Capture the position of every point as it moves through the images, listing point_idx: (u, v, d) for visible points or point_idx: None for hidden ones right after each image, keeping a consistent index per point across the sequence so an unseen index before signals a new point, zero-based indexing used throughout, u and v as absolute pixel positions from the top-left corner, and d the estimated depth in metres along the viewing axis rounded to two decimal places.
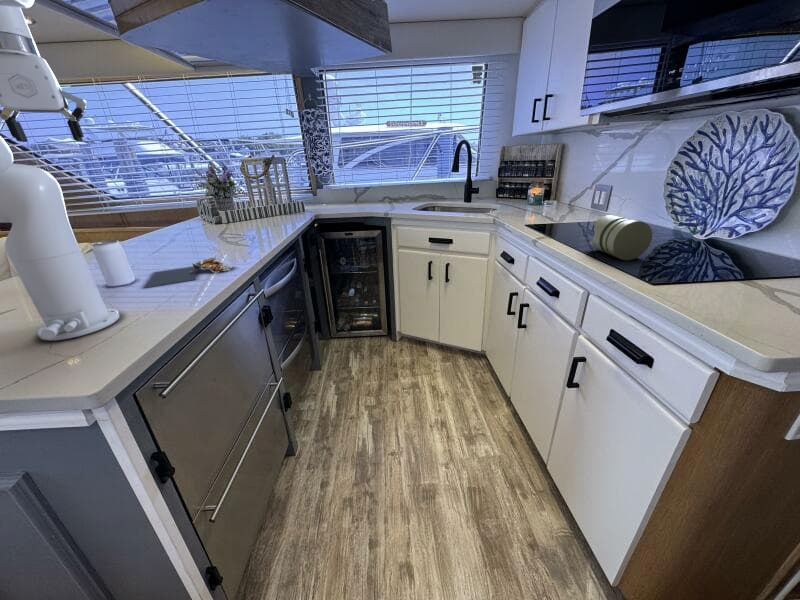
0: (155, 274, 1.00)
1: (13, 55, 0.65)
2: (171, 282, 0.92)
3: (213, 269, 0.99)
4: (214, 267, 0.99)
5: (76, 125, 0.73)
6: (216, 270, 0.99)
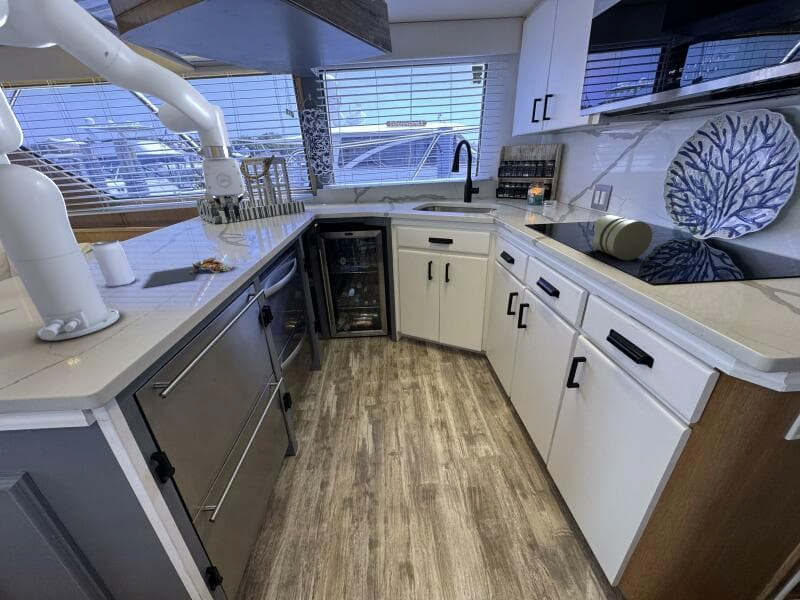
0: (155, 274, 1.00)
1: (221, 160, 0.91)
2: (171, 282, 0.92)
3: (213, 269, 0.99)
4: (214, 267, 0.99)
5: (237, 208, 0.99)
6: (216, 270, 0.99)
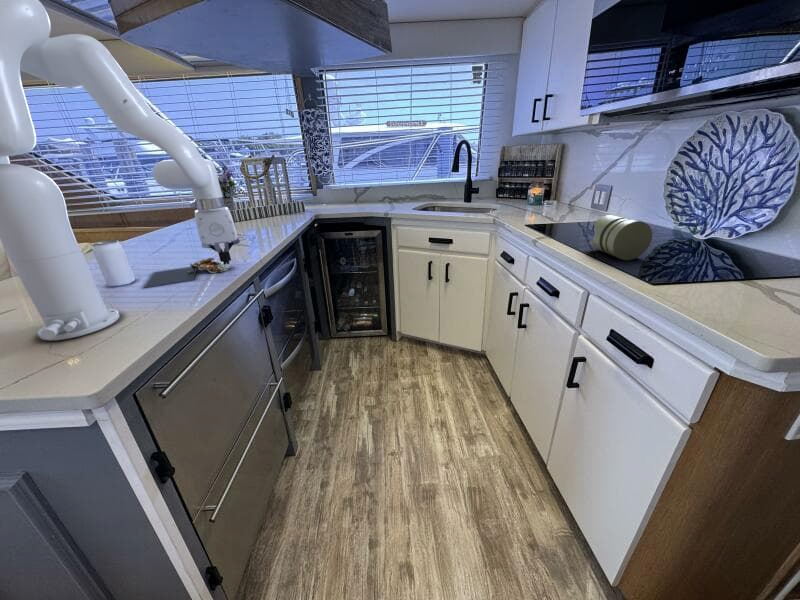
0: (155, 274, 1.00)
1: (213, 211, 0.95)
2: (171, 282, 0.92)
3: (210, 269, 0.99)
4: (211, 267, 0.99)
5: (228, 253, 1.02)
6: (213, 270, 0.99)
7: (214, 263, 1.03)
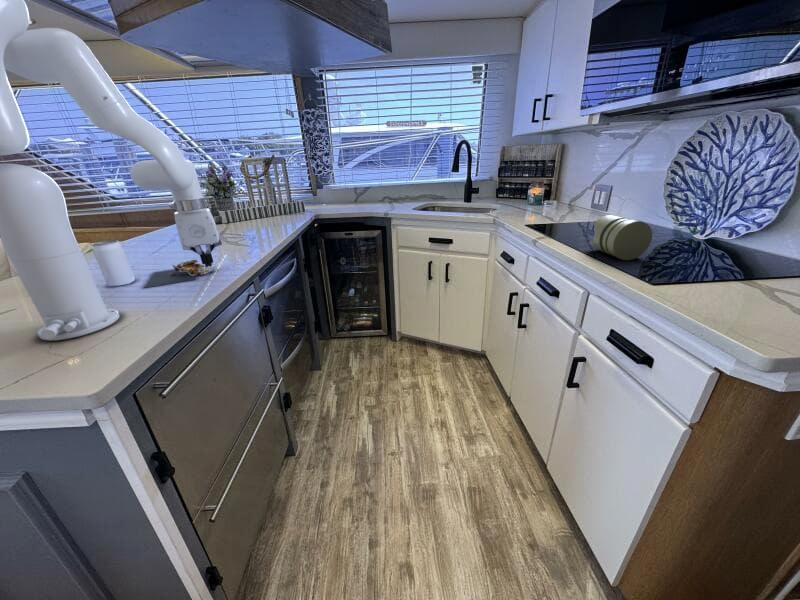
0: (155, 274, 1.00)
1: (193, 212, 0.93)
2: (171, 282, 0.92)
3: (191, 272, 0.97)
4: (192, 270, 0.97)
5: (210, 256, 1.00)
6: (194, 273, 0.97)
7: (197, 265, 1.01)
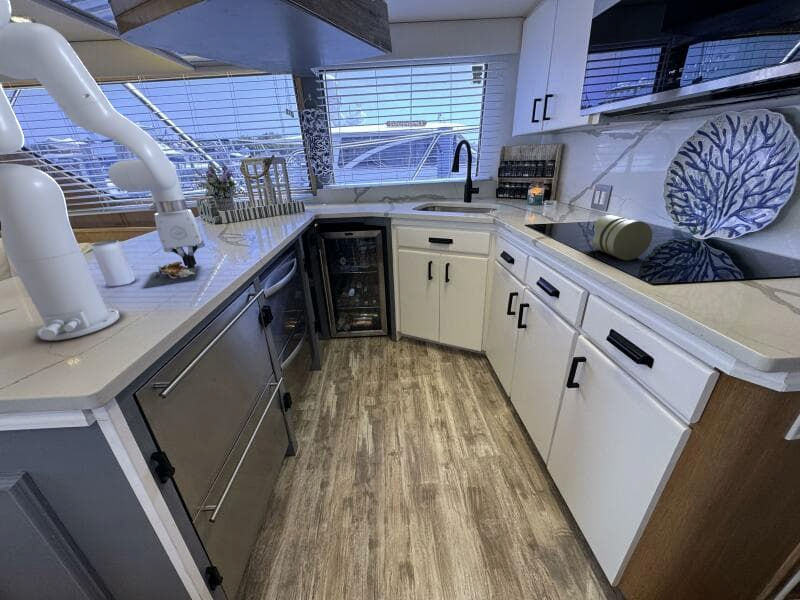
0: None
1: (174, 213, 0.91)
2: (171, 282, 0.92)
3: (172, 274, 0.96)
4: (173, 272, 0.96)
5: (193, 257, 0.98)
6: (174, 276, 0.96)
7: (182, 267, 0.99)
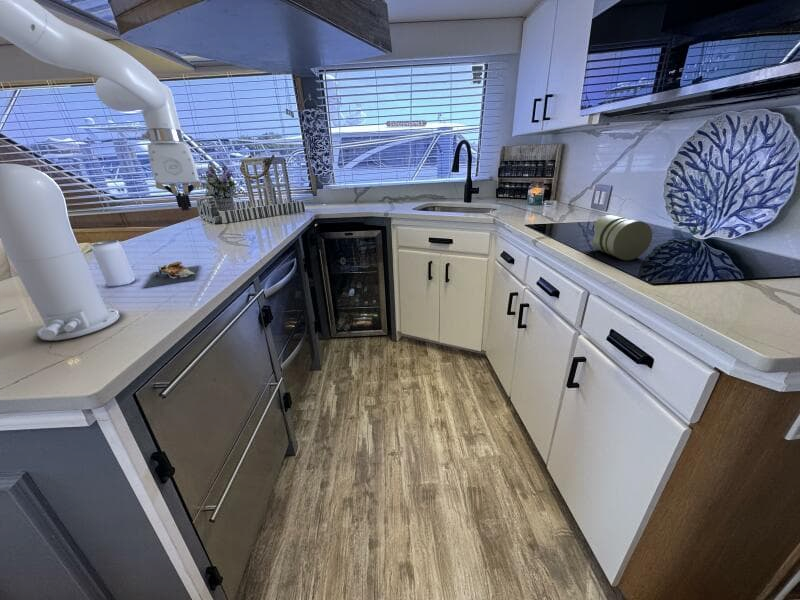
0: None
1: (169, 144, 0.83)
2: (171, 282, 0.92)
3: (172, 274, 0.96)
4: (173, 272, 0.96)
5: (188, 198, 0.90)
6: (174, 276, 0.96)
7: (181, 267, 0.99)
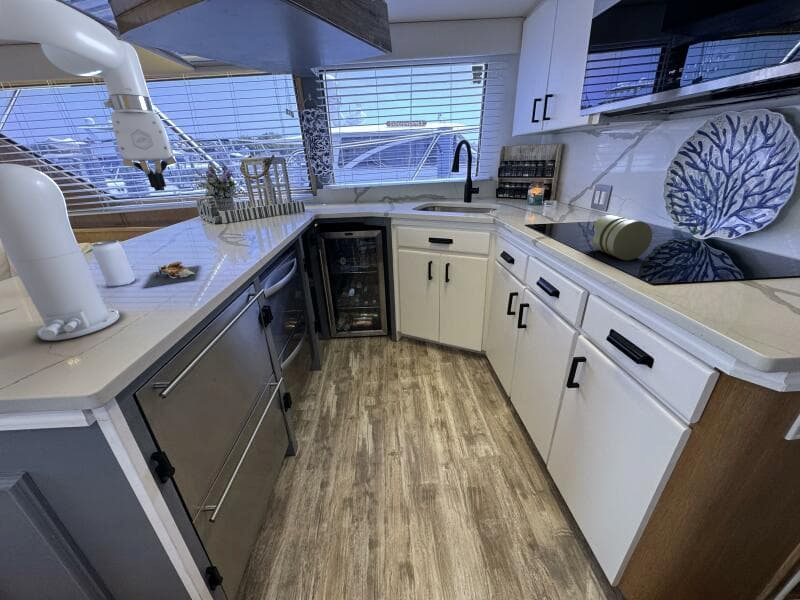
0: None
1: (136, 113, 0.73)
2: (171, 282, 0.92)
3: (172, 274, 0.96)
4: (173, 272, 0.96)
5: (161, 177, 0.80)
6: (174, 276, 0.96)
7: (181, 267, 0.99)
